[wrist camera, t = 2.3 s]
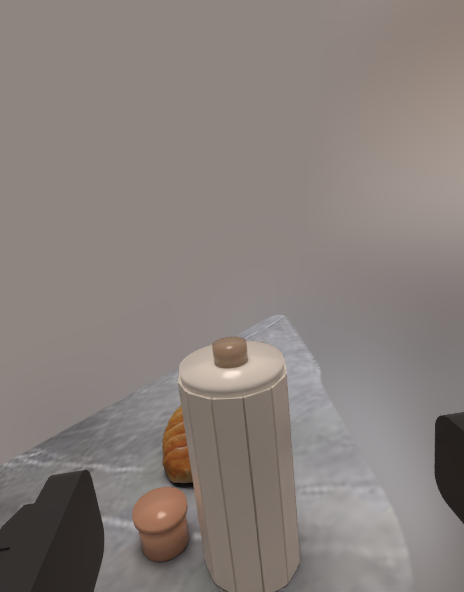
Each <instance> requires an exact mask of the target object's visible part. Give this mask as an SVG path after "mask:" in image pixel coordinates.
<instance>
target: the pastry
mask: <svg viewBox="0 0 464 592" xmlns="http://www.w3.org/2000/svg"><path fill="white" fill-rule="evenodd" d="M163 454H164V457H163V465H164V468H165V471H166V473H167V475H168V477H169V480H170V481H171V482H173V483H192V482H193V478H192V472H191V465H190V459H189V452H188V446H187V439H186V433H185V426H184V420H183V413H182V407H181V406H180V407H179V408H178V409H177V410H176V411H175V413H174V414H173V415H172V417H171V418H170V420H169V423H168V426H167V427H166V430H165V433H164V437H163Z"/></svg>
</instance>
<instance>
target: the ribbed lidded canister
mask: <svg viewBox="0 0 464 592" xmlns="http://www.w3.org/2000/svg"><path fill="white" fill-rule="evenodd" d="M179 373H180V376H179V378H178V380H177V381H178V387H179V394H180V400H181V407H182V413H183V420H184V426H185V433H186V439H187V446H188V452H189V459H190V465H191V472H192V478H193V485H194V492H195V498H196V505H197V511H198V518H199V524H200V531H201V537H202V544H203V550H204V557H205V563H206V565H207V567H208V570H209V572H210V574H211V576H212V579H213V581H214V583H215V584H216V585H218V586H219V587H221V588H223V589H224V590H226V591H227V592H276V591H277V590H279V589H281V588H283V587H284V586H286V585H288V583H289V582H290V580H291V579H292V577H293V575H294V573H295V571H296V569H297V567H298V566H299V564H300V550H299V537H298V523H297V509H296V496H295V482H294V469H293V455H292V442H291V428H290V414H289V401H288V387H287V374H286V365H285V362H284V357H283V354H282V353H281V351H280V350H278V349H277V348H275V347H273V346H271V345H268V344H265V343H260V342H254V341H246V340H245V339H244V338H241V337H226V338H222V339H219V340H216V341H215V342H213V344H212V345H210V346H207V347H204V348H201V349H199V350H197V351H195V352H193V353H191V354H190V355H188V356H187V357H186V358H184V360H182V362H181V364H180V366H179ZM287 582H288V583H287Z"/></svg>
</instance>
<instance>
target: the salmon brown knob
mask: <svg viewBox="0 0 464 592" xmlns="http://www.w3.org/2000/svg"><path fill="white" fill-rule="evenodd" d="M187 509H188V506H187V500H186V496H185V495H184V493H183V492H182V491H180V490H179V489H176V488H173V487H161V488H157V489H154V490H152V491H149V492H148V493H146V494H145V495H143V496H142V497H141V498H140V499H139V500H138V501H137V502H136V504H135V506H134V508H133V512H132V517H133V522H134V525H135V527H136V529H137V530H138V531H139V534H140V539H141V544H142V549H143V552H144V554H145V556H146V557H147V558H149V559H151V560H153V561H167V560H170V559H172V558H174V557H176V556H177V555H179V554H180V553H181V552H182V551H183V550H184V548H185V547H186V545H187V543H188V540H189V532H188V526H187V520H186V513H187Z"/></svg>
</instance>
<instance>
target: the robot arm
mask: <svg viewBox="0 0 464 592" xmlns="http://www.w3.org/2000/svg"><path fill="white" fill-rule="evenodd" d="M435 479H436V483H437V486H438V489H439V491H440V493H441V495H442V497H443V499H444V500H445V502H446V503H447V504H448V506H449V507H450V508H451V509H452V510H453V512H454V513H455V514H456V515H457V516H458V518H459V519H460V520H461V521H462V522H463V524H464V412H461V413H455V414H448V415H443V416H439V417H438V418H437V420H436V423H435ZM103 552H104V528H103V523H102V519H101V515H100V511H99V506H98V502H97V498H96V494H95V490H94V486H93V481H92V478H91V475H90V473H89V471H87V470H83V471H76V472H70V473H64V474H57V475H52V476H50V477H49V478H48V480H47V481H46V483H45V485H44V487H43V489H42V491H41V492H40V494H39V496H38V498H37V500H36V502H35V503H34V504H27V505H24V506H23V507H22V508H21V509H20V510H19V511H18V512H17V513H16V514H15V515H14V516H13V517H12V518H11V519H10V520H8V521H7V522H6V523H5V524H4V525H3V526H2V528H1V529H0V592H94V588H95V585H96V581H97V577H98V573H99V570H100V566H101V562H102V558H103Z"/></svg>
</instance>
